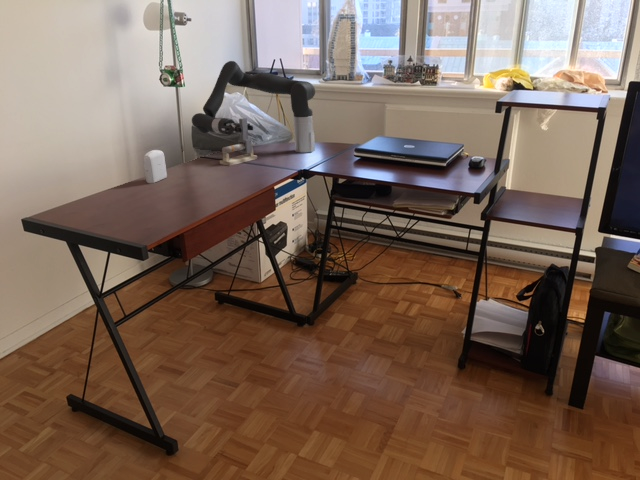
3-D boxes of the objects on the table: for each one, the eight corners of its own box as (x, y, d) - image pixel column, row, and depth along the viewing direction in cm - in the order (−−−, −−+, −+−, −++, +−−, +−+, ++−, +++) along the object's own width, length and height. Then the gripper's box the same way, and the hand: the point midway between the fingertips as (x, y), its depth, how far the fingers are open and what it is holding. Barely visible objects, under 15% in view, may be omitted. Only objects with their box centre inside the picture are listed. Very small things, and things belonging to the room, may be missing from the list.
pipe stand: (247, 157, 262) (246, 140, 259) (257, 158, 258) (256, 141, 255) (219, 163, 250) (218, 146, 247) (230, 165, 246) (228, 148, 243)
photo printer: (153, 183, 219) (149, 153, 215) (145, 183, 220) (140, 152, 216) (168, 177, 228) (165, 148, 224) (160, 177, 229) (156, 147, 225)
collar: (243, 150, 259) (241, 117, 253) (252, 152, 255) (249, 118, 249) (238, 151, 256) (236, 118, 251) (247, 153, 253) (244, 119, 247)
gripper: (210, 120, 254) (234, 122, 244) (234, 116, 264) (258, 118, 254) (212, 136, 257) (236, 139, 247) (235, 131, 267) (259, 134, 257)
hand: (247, 129), depth 250 cm, fingers open, 6 cm apart
